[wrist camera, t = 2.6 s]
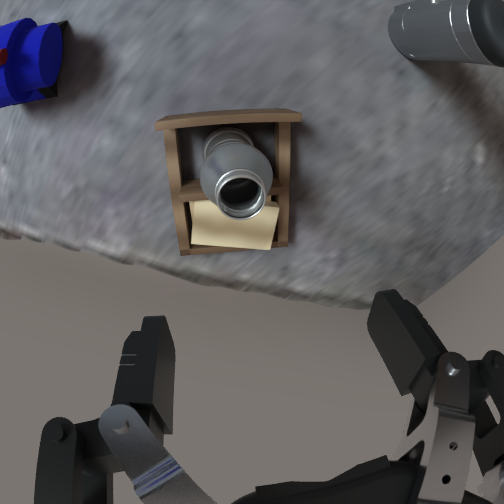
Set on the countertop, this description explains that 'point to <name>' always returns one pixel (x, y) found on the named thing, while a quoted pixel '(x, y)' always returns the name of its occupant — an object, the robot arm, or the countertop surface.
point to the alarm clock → (29, 61)
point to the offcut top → (233, 227)
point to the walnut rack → (192, 188)
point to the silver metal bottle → (235, 173)
